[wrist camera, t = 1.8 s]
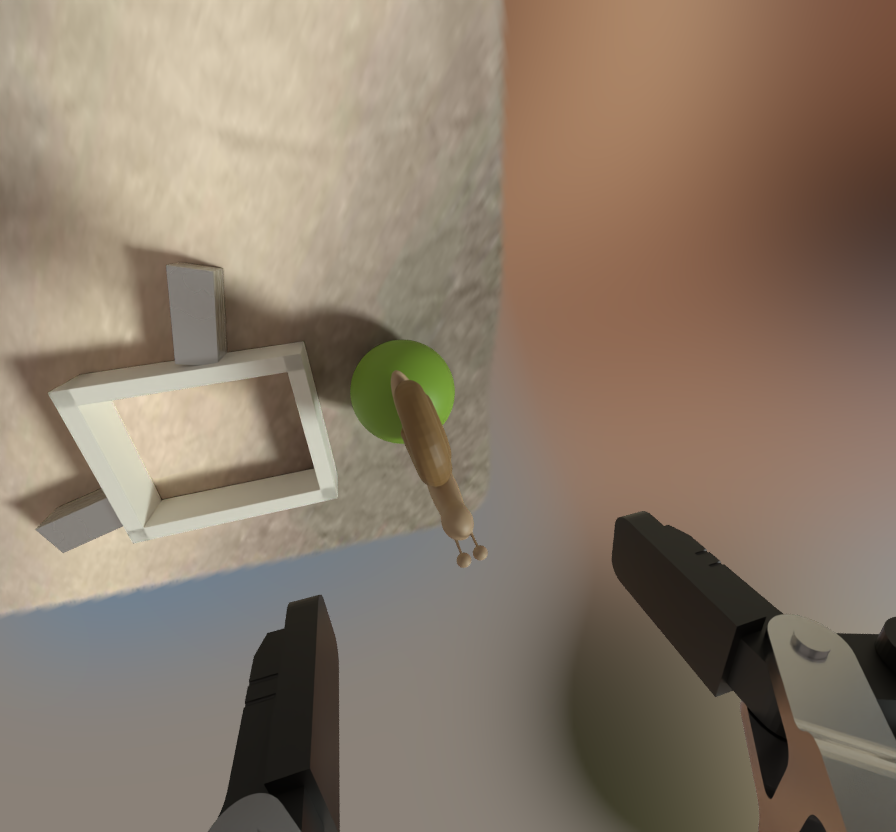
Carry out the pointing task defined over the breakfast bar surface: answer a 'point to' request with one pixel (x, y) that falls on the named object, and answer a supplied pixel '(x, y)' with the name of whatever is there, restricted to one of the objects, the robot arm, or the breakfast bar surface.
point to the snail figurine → (415, 422)
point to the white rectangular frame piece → (196, 364)
